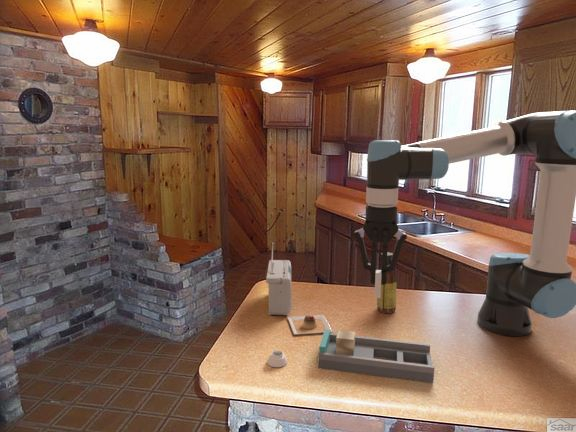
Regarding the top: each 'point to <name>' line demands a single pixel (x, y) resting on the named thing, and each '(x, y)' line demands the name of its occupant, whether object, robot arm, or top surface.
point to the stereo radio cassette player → (279, 286)
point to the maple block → (345, 342)
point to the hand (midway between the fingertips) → (377, 295)
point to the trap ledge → (382, 349)
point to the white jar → (277, 359)
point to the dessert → (309, 323)
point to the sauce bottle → (388, 290)
